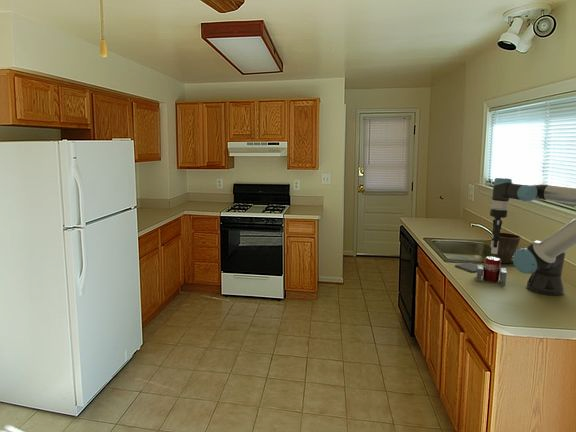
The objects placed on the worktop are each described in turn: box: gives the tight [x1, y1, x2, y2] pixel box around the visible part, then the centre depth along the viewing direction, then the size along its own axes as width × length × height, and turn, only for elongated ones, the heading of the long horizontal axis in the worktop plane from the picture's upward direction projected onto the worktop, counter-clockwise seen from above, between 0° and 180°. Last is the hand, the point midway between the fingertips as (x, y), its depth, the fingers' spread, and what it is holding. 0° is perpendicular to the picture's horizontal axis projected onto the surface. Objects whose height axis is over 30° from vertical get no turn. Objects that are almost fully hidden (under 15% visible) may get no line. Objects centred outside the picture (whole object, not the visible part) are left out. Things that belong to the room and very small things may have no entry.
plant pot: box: [491, 232, 521, 264], centre depth 244 cm, size 15×15×16 cm
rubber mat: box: [454, 262, 484, 274], centre depth 229 cm, size 12×12×1 cm
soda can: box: [482, 255, 502, 284], centre depth 208 cm, size 7×7×12 cm
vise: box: [476, 264, 508, 286], centre depth 208 cm, size 8×13×6 cm, turn 65°
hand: (493, 250), depth 206 cm, fingers open, 13 cm apart
